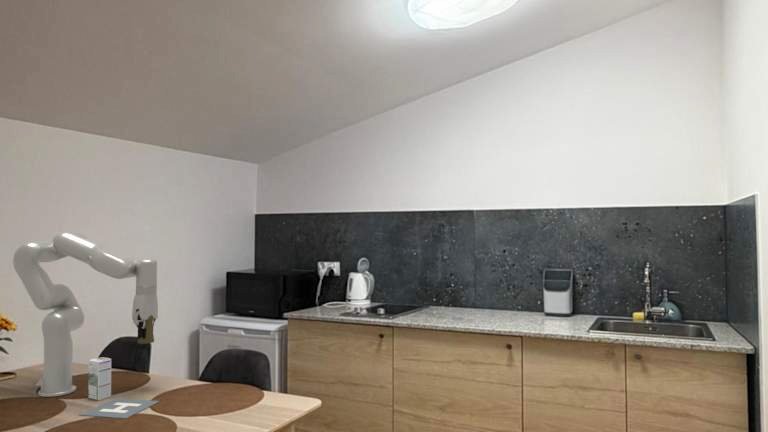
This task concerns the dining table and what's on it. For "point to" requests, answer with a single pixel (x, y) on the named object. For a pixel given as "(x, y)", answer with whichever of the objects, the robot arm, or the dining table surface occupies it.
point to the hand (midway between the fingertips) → (145, 336)
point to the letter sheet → (119, 408)
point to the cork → (148, 332)
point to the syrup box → (99, 378)
